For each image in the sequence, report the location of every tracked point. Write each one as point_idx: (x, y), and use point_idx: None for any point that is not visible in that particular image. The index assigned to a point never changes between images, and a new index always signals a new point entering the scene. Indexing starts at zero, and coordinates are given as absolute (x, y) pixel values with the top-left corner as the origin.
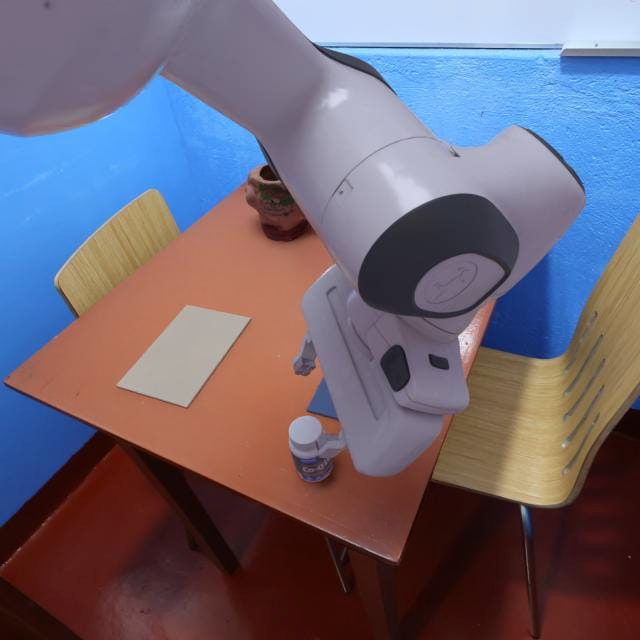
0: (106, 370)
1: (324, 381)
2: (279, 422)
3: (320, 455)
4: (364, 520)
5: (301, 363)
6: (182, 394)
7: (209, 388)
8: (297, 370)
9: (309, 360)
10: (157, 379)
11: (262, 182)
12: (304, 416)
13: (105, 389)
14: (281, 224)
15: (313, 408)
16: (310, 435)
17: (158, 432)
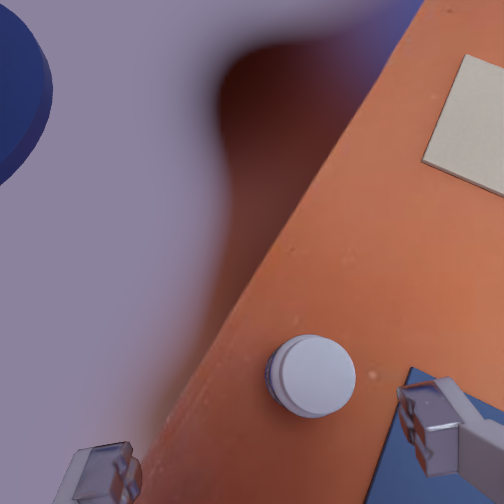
0: (496, 37)
1: (482, 409)
2: (388, 314)
3: (73, 456)
4: (187, 458)
5: (429, 423)
6: (448, 150)
7: (462, 191)
8: (406, 398)
9: (452, 455)
10: (479, 109)
11: None
12: (353, 374)
13: (458, 43)
14: None
15: (415, 381)
16: (302, 386)
17: (377, 126)
